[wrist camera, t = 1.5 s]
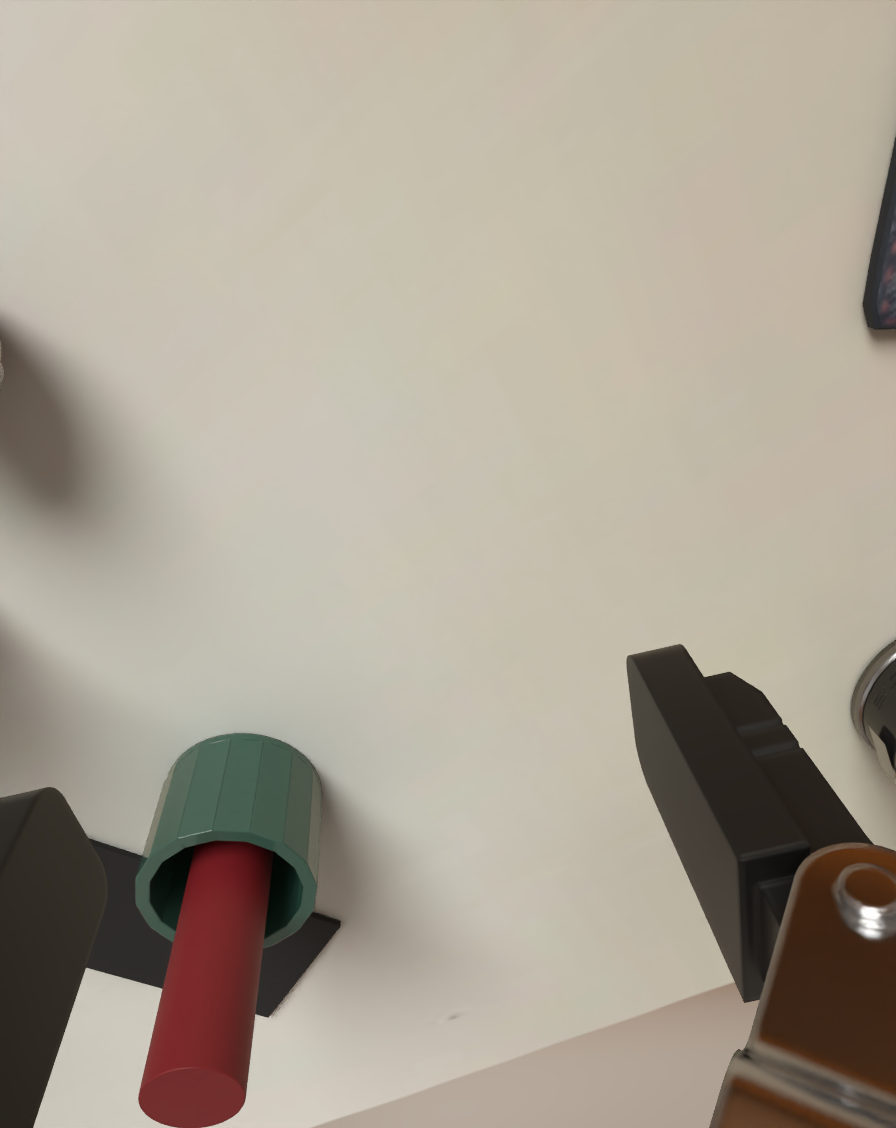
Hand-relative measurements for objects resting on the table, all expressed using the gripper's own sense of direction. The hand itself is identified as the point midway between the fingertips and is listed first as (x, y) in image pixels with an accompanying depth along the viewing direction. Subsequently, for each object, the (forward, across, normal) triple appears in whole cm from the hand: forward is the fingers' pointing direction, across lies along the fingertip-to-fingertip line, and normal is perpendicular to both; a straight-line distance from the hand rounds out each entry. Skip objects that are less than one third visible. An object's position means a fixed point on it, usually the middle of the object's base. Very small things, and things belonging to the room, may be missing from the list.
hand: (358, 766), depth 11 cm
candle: (+26, -12, -23) cm, 37 cm away
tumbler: (+26, -12, -23) cm, 37 cm away
